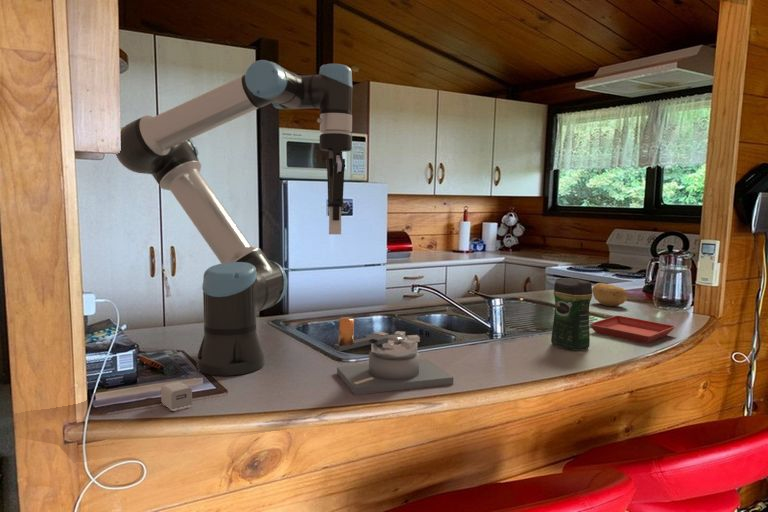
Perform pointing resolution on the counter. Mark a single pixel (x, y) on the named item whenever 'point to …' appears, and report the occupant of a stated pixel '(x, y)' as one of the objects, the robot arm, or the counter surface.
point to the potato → (609, 294)
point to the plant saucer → (631, 329)
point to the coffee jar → (571, 314)
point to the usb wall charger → (176, 395)
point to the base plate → (389, 385)
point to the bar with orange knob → (378, 342)
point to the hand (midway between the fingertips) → (334, 234)
